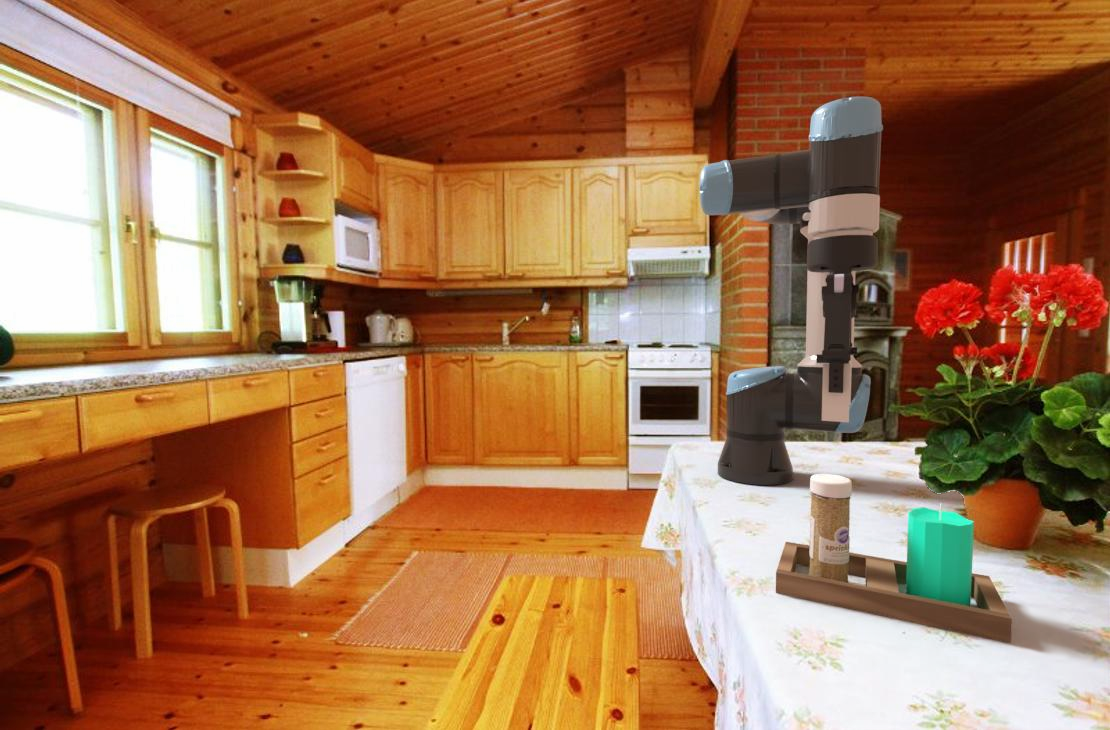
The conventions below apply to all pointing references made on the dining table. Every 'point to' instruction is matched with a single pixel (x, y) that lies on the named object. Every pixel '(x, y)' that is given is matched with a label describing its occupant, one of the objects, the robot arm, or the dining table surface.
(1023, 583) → the dining table surface
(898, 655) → the dining table surface
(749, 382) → the robot arm
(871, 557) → the walnut rail
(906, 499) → the dining table surface
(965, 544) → the candle
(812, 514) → the sprinkles bottle
